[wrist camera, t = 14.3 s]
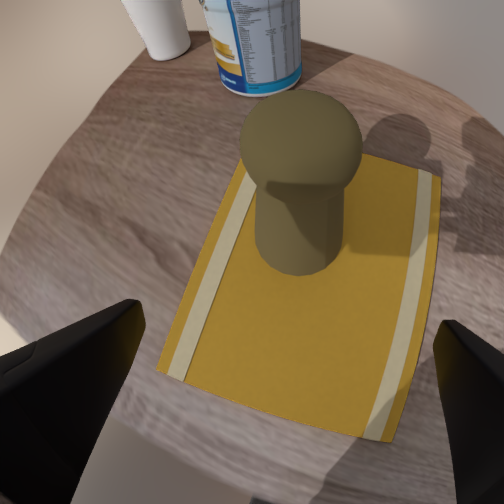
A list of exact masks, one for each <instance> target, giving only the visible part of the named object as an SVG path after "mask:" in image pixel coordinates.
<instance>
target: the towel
mask: <svg viewBox="0 0 504 504" xmlns="http://www.w3.org/2000/svg"><path fill="white" fill-rule="evenodd" d="M440 196H441V177H438V176H435V175H432V173H430V172H427V171H424V170H421V169H415V168H411V167H408V166H405V165H402V164H399V163H396V162H392V161H389V160H386V159H382V158H379V157H375V156H372V155H368V154H364V153H362V159H361V162H360V166H359V168H358V170H357V172H356V174H355V176H354V177H353V179H352V181H351V182H350V183H349V184H348V185H347V186H346V187H345V188H344V223H343V239H342V246H341V249H340V251H339V253H338V255H337V257H336V258H335V260H334V261H333V262H332V263H331V264H329V265H328V266H327V267H326V268H325V269H323V270H321V271H319V272H317V273H314V274H312V275H304V276H293V275H288V274H283V273H281V272H279V271H278V270H276V269H274V268H272V267H270V266H269V265H268V264H267V262H266V261H265V260H264V259H263V258H262V257H261V256H260V253H259V251H258V249H257V247H256V244H255V232H254V231H255V208H256V184H255V183H254V182H253V180H252V179H251V178H250V176H249V174H248V172H247V170H246V168H245V166H244V165H243V162H242V158H241V159H240V161H239V164H238V166H237V168H236V170H235V173H234V175H233V177H232V179H231V182H230V184H229V186H228V189H227V191H226V193H225V196H224V198H223V200H222V202H221V205H220V207H219V209H218V212H217V214H216V217H215V219H214V221H213V224H212V226H211V228H210V231H209V233H208V236H207V238H206V240H205V243H204V245H203V248H202V250H201V253H200V255H199V258H198V260H197V262H196V265H195V267H194V270H193V272H192V275H191V277H190V280H189V283H188V285H187V288H186V290H185V293H184V295H183V298H182V300H181V303H180V306H179V308H178V311H177V313H176V316H175V319H174V321H173V324H172V327H171V329H170V332H169V335H168V337H167V340H166V343H165V346H164V348H163V351H162V354H161V357H160V359H159V362H158V365H157V368H156V370H158V371H160V372H163V373H165V374H167V375H169V376H171V377H173V378H175V379H178V380H180V381H182V382H185V383H188V384H190V385H193V386H195V387H198V388H200V389H202V390H205V391H208V392H210V393H213V394H215V395H218V396H220V397H223V398H226V399H229V400H231V401H234V402H237V403H240V404H242V405H245V406H248V407H251V408H254V409H257V410H260V411H263V412H266V413H269V414H273V415H276V416H279V417H282V418H286V419H289V420H292V421H296V422H299V423H303V424H307V425H310V426H314V427H318V428H322V429H326V430H330V431H334V432H338V433H343V434H347V435H352V436H356V437H361V438H365V439H370V440H375V441H382V442H388V443H391V442H392V440H393V437H394V435H395V432H396V429H397V426H398V423H399V420H400V417H401V414H402V411H403V408H404V405H405V402H406V399H407V396H408V392H409V389H410V386H411V382H412V378H413V375H414V371H415V367H416V363H417V360H418V355H419V351H420V347H421V343H422V338H423V334H424V329H425V324H426V319H427V314H428V308H429V303H430V297H431V290H432V284H433V277H434V269H435V261H436V253H437V243H438V231H439V217H440Z"/></svg>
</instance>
